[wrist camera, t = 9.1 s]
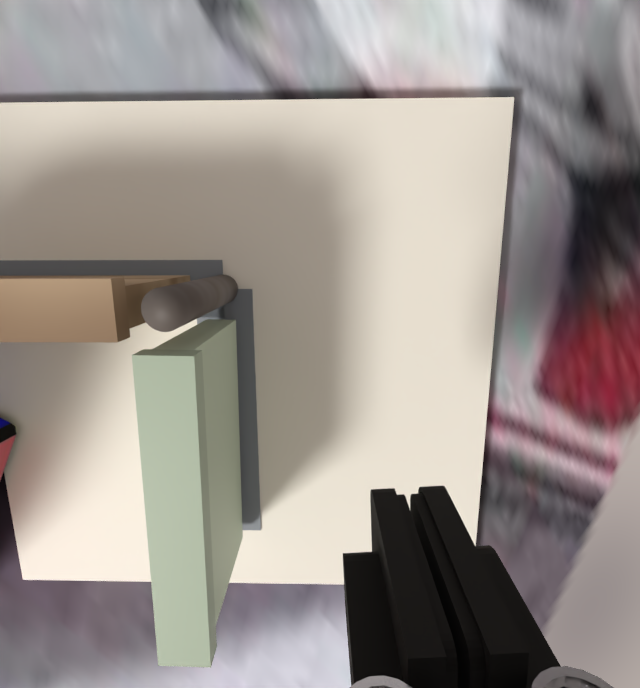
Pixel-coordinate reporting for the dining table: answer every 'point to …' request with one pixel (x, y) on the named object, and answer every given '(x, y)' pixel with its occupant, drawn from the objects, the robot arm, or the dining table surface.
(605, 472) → the dining table surface
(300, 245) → the card
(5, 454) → the puzzle cube
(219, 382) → the fence panel
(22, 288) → the fence fixed
